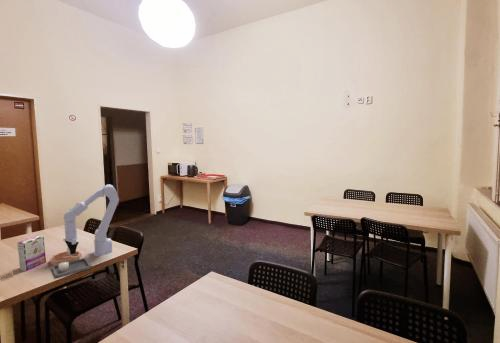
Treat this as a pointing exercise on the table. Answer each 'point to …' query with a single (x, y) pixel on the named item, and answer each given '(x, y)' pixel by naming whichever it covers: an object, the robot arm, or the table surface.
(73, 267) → the parts tray
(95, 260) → the table surface
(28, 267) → the candy bar box
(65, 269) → the white rounded piece
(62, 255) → the bowl
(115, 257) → the table surface
